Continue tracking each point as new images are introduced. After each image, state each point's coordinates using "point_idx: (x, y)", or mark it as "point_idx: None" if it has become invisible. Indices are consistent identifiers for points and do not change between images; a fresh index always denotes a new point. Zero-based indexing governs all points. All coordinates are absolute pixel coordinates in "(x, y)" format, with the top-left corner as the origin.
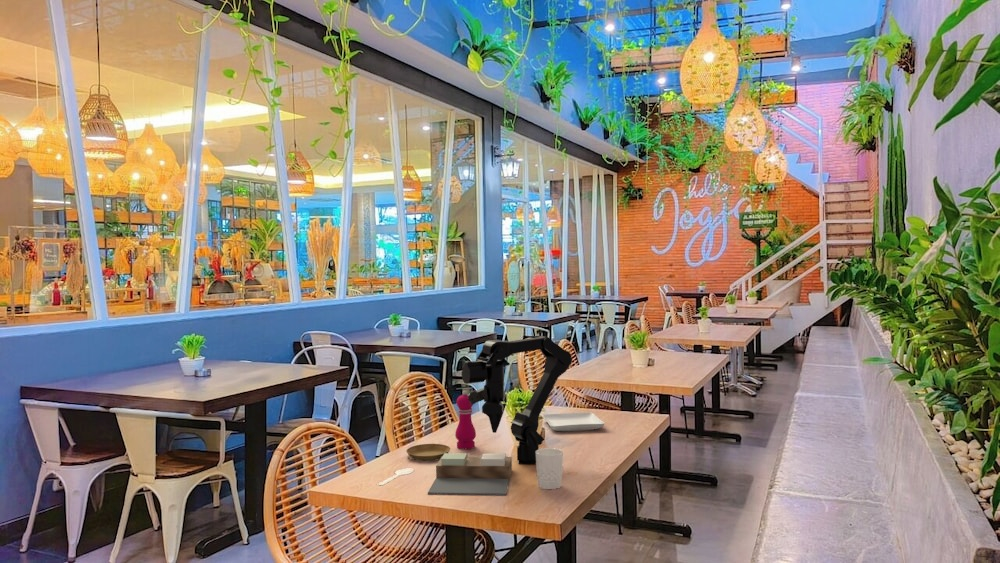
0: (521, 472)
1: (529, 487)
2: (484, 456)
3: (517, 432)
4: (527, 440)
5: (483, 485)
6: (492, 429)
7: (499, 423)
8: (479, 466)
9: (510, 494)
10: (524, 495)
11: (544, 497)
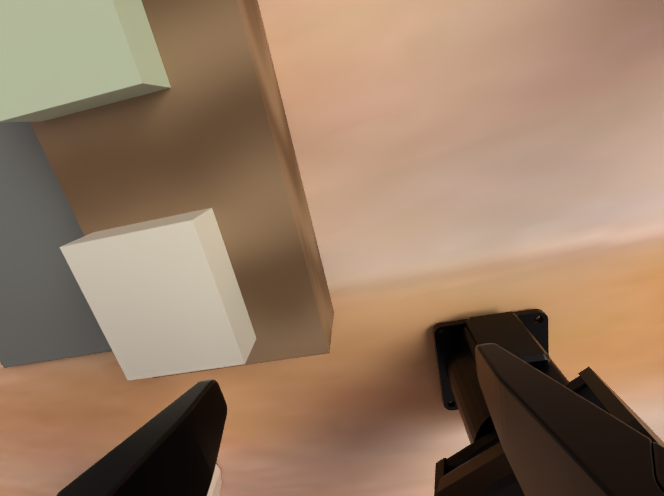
0: (307, 358)
1: (135, 418)
2: (126, 252)
3: (480, 489)
4: (436, 493)
5: (35, 260)
6: (171, 410)
7: (500, 438)
8: (81, 225)
9: (30, 374)
10: (48, 417)
11: (66, 470)
